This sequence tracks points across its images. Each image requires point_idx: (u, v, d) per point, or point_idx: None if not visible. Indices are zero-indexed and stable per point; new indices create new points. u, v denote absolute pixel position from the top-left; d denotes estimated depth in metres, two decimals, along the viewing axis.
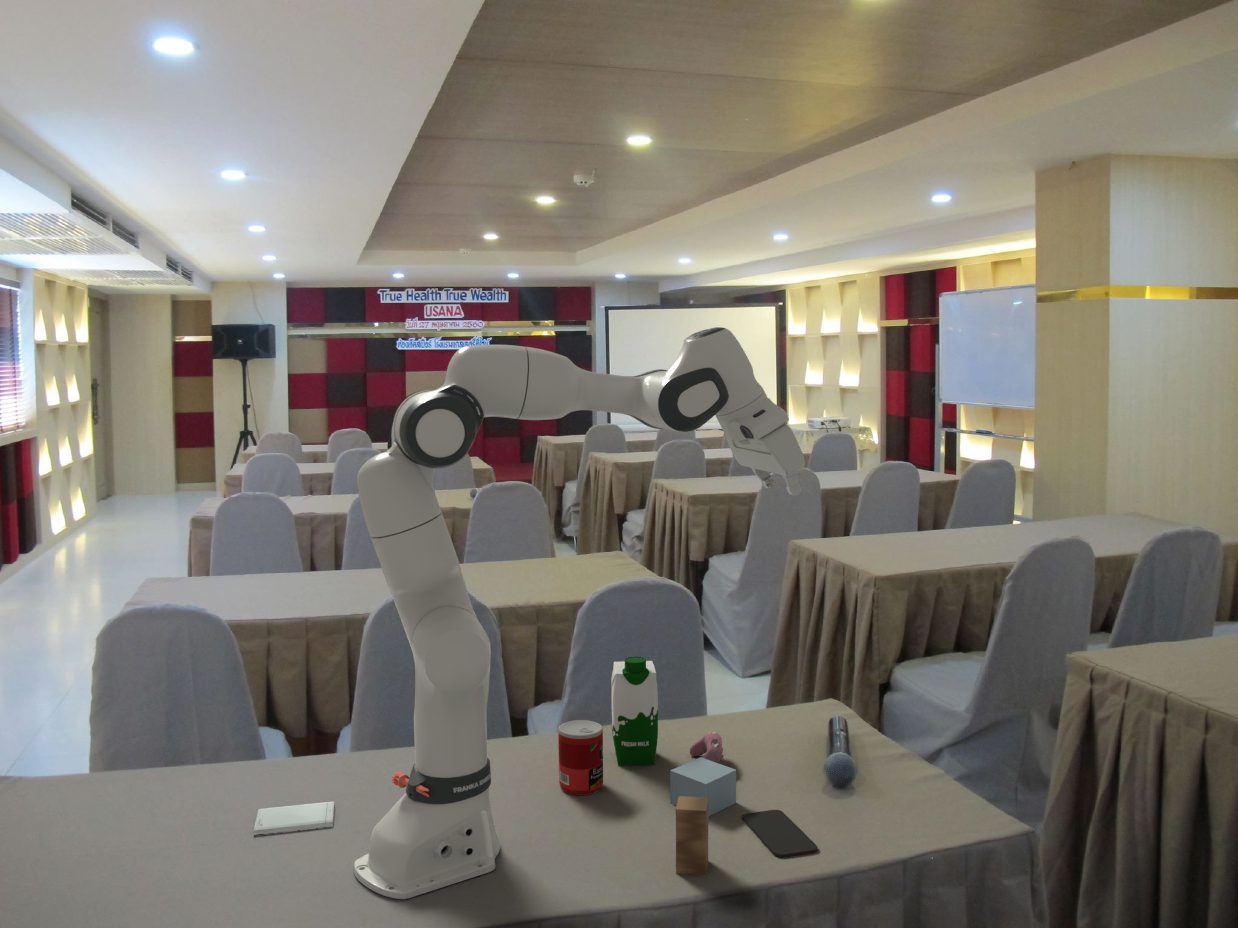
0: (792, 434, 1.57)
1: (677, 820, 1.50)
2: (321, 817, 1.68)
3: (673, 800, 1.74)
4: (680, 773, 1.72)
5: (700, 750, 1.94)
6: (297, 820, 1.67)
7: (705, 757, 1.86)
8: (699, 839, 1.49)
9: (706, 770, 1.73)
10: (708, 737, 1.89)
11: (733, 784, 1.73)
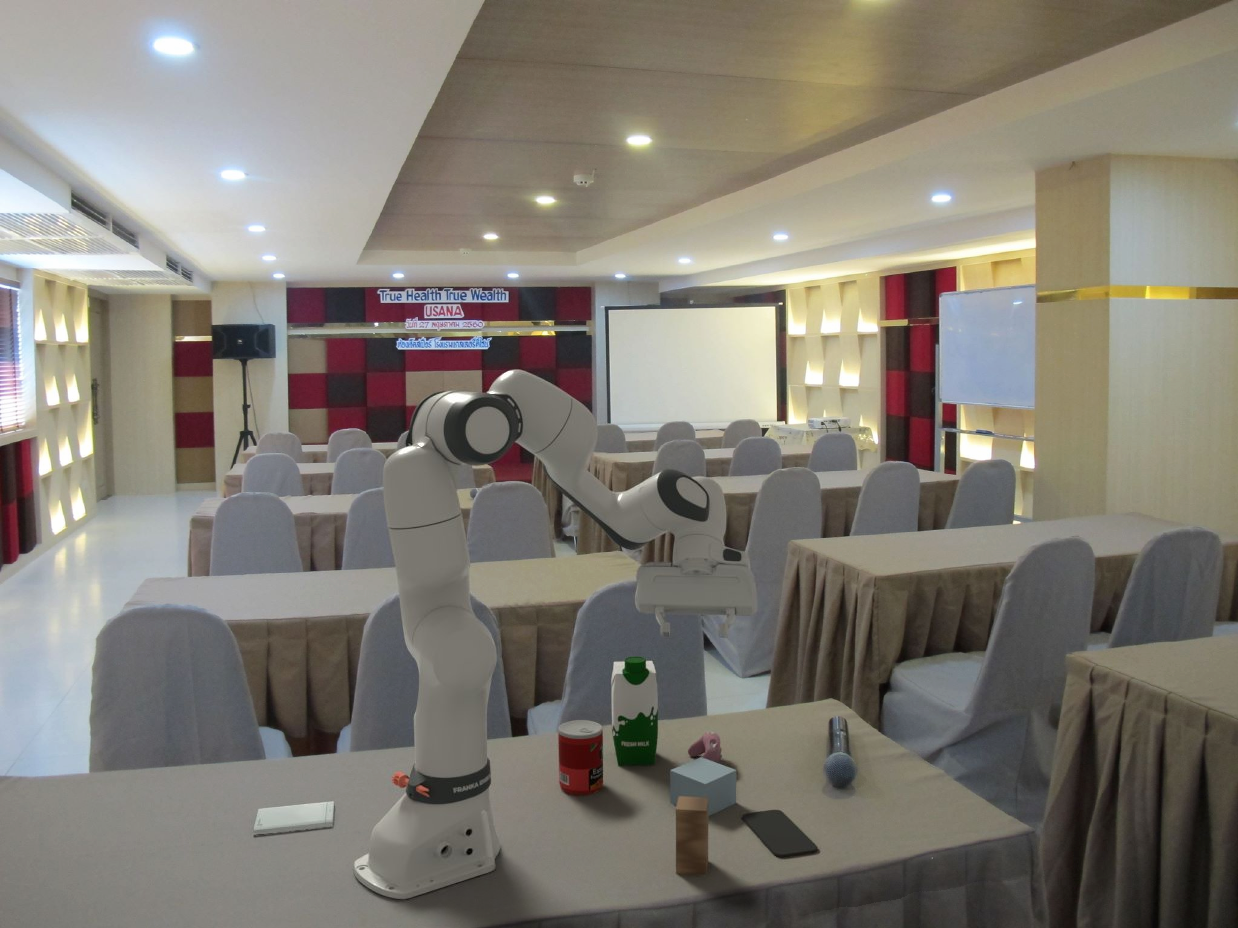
0: None
1: (677, 820, 1.50)
2: (321, 817, 1.68)
3: (673, 800, 1.74)
4: (680, 773, 1.72)
5: (698, 750, 1.94)
6: (297, 820, 1.67)
7: (704, 757, 1.86)
8: (699, 840, 1.49)
9: (706, 770, 1.73)
10: (706, 737, 1.89)
11: (733, 785, 1.73)
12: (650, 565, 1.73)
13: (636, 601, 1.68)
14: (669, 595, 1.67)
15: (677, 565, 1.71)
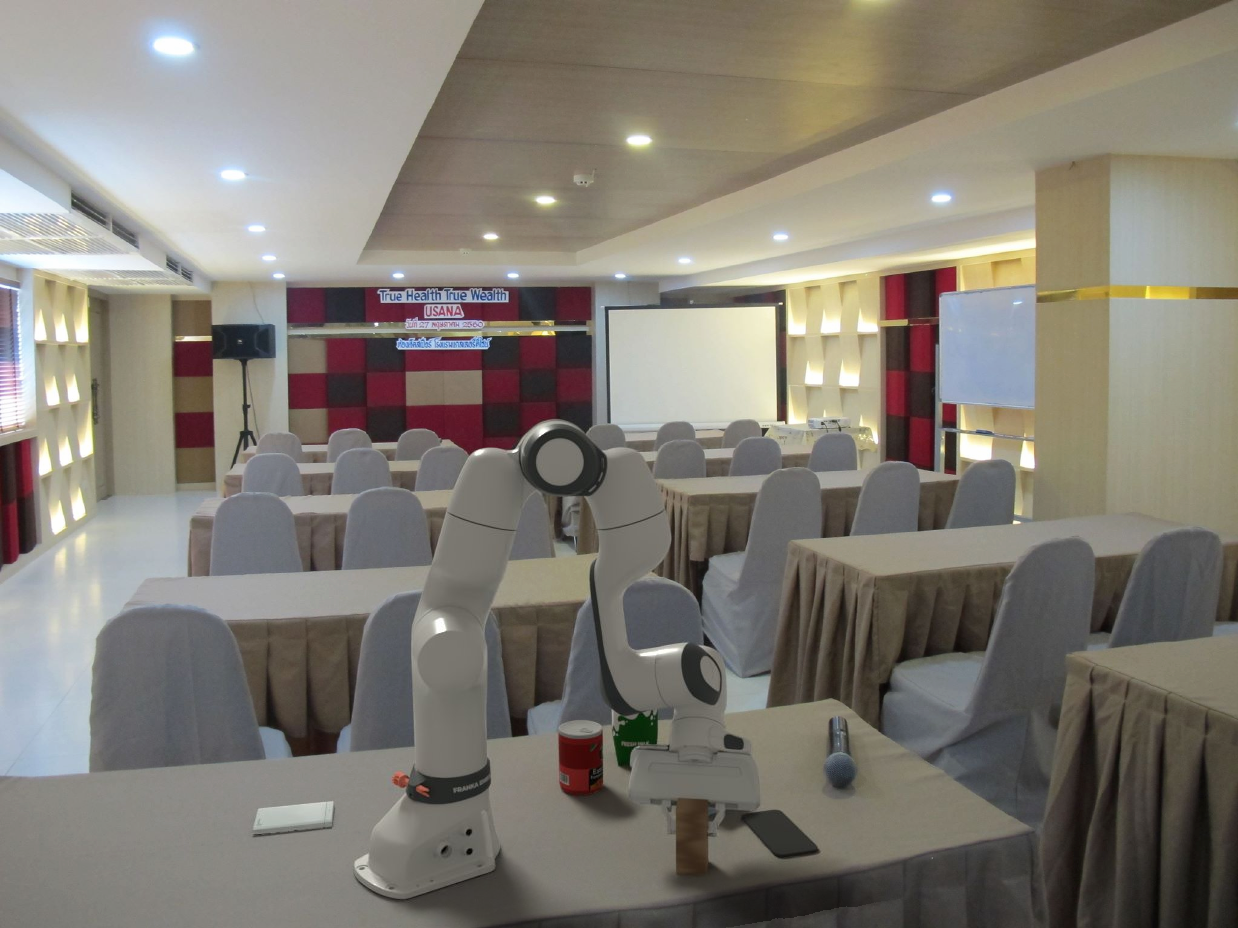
0: None
1: (677, 820, 1.50)
2: (321, 817, 1.68)
3: None
4: None
5: None
6: (296, 820, 1.67)
7: None
8: (699, 839, 1.49)
9: None
10: None
11: None
12: (645, 748, 1.60)
13: (630, 792, 1.55)
14: (665, 787, 1.54)
15: (674, 750, 1.58)
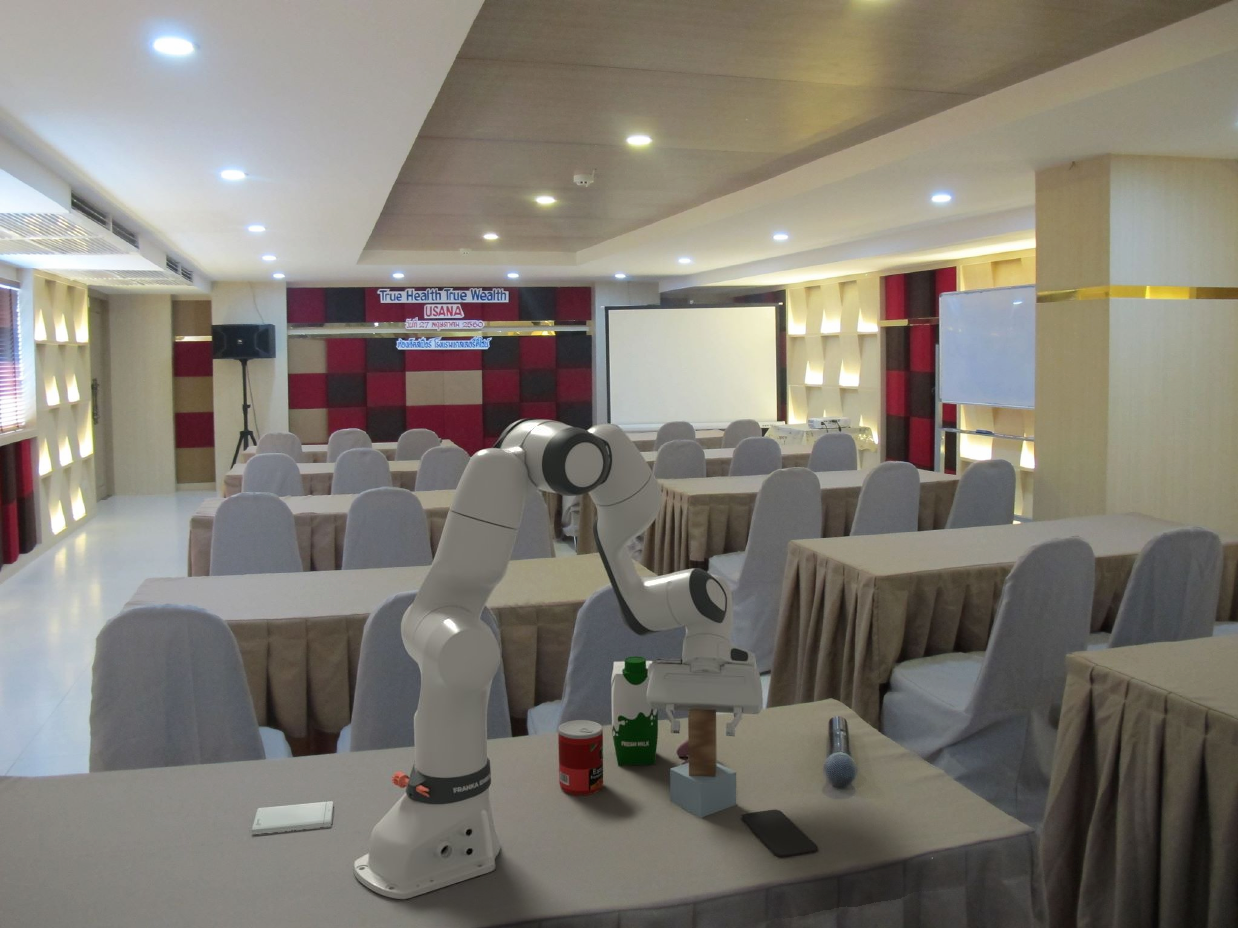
0: None
1: (689, 728, 1.71)
2: (320, 817, 1.68)
3: (673, 798, 1.74)
4: (678, 772, 1.73)
5: (687, 750, 1.93)
6: (295, 820, 1.67)
7: None
8: (709, 745, 1.70)
9: None
10: None
11: (732, 786, 1.73)
12: (661, 662, 1.81)
13: (647, 698, 1.76)
14: (679, 693, 1.75)
15: (687, 663, 1.79)
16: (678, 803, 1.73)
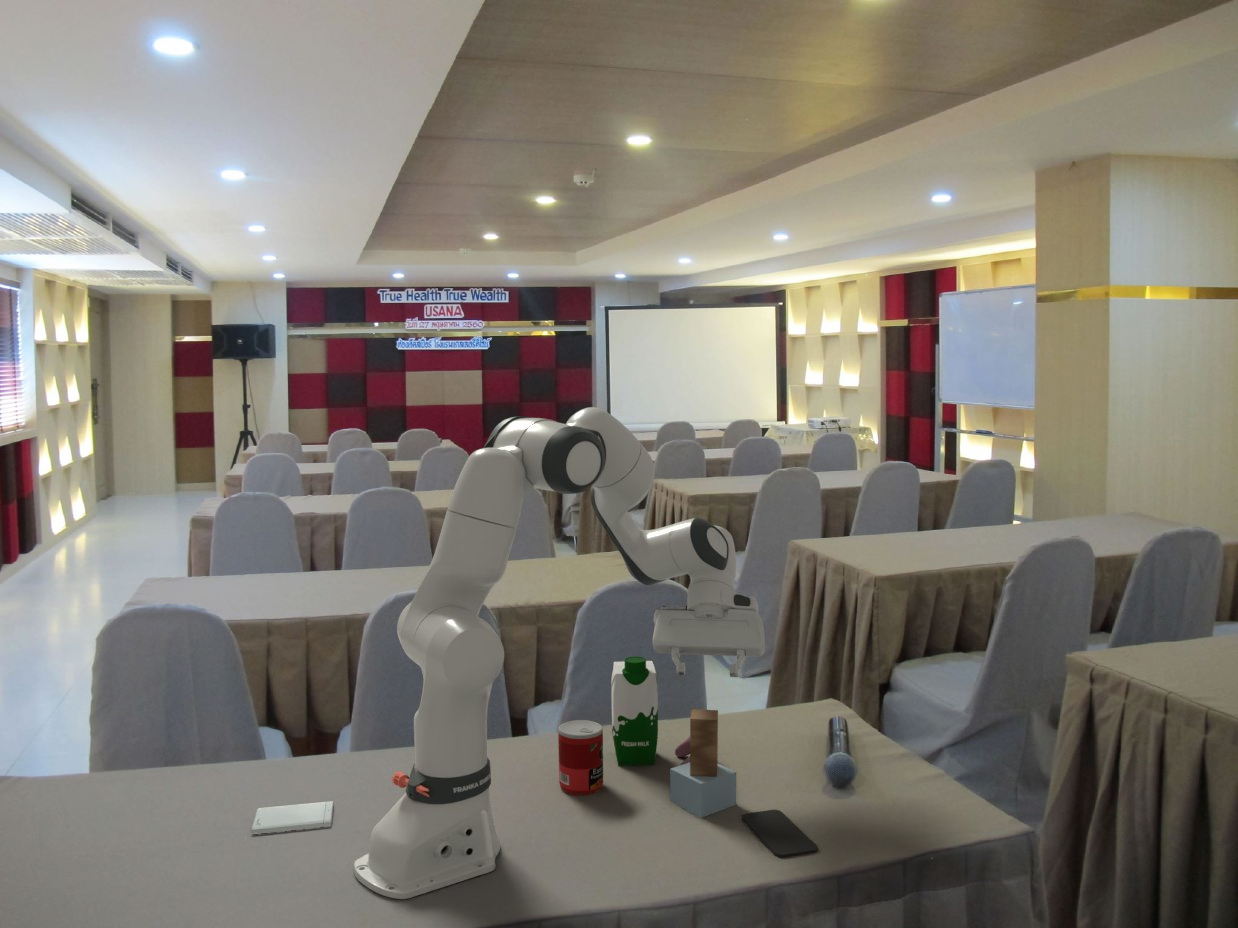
0: None
1: (691, 728, 1.70)
2: (320, 817, 1.68)
3: (673, 798, 1.74)
4: (679, 772, 1.73)
5: (685, 751, 1.93)
6: (295, 820, 1.67)
7: None
8: (710, 745, 1.70)
9: None
10: None
11: (732, 786, 1.73)
12: (666, 608, 1.88)
13: (654, 642, 1.82)
14: (684, 637, 1.82)
15: (691, 609, 1.85)
16: (678, 803, 1.73)
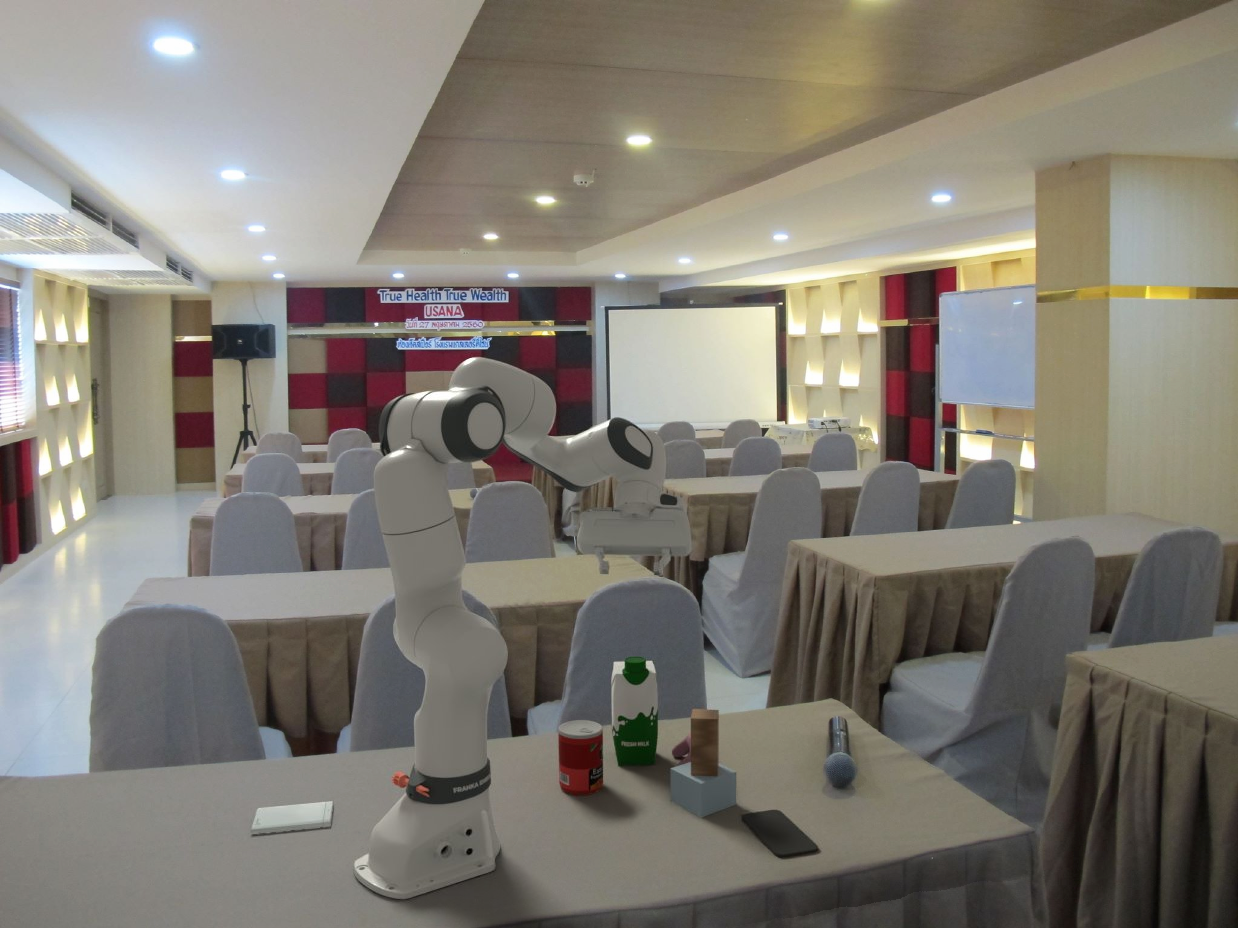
0: None
1: (692, 728, 1.71)
2: (319, 817, 1.68)
3: (673, 798, 1.74)
4: (679, 771, 1.73)
5: (682, 751, 1.93)
6: (295, 820, 1.67)
7: (688, 758, 1.85)
8: (711, 745, 1.71)
9: None
10: None
11: (732, 786, 1.73)
12: (592, 510, 1.83)
13: (578, 542, 1.78)
14: (609, 536, 1.77)
15: (617, 509, 1.81)
16: (678, 803, 1.73)
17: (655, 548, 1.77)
